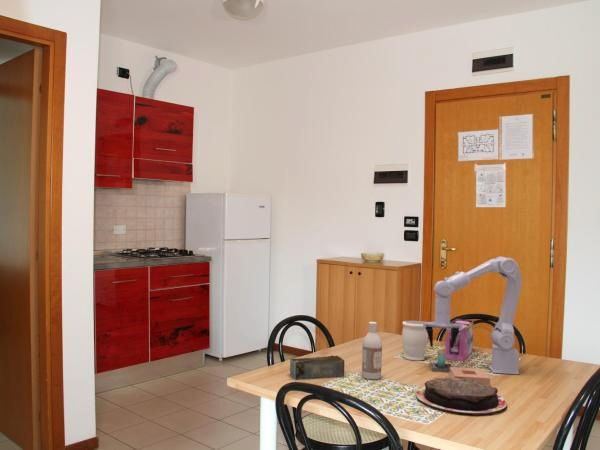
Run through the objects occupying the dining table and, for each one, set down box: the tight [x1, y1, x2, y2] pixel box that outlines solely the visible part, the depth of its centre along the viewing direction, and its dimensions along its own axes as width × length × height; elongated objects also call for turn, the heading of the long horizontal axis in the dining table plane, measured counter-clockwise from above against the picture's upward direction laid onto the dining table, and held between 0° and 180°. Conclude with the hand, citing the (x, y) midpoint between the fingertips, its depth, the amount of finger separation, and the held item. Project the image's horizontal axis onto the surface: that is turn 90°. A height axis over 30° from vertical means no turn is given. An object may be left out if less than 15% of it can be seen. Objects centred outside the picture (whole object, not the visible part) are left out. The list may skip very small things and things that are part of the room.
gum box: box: [444, 318, 474, 362], centre depth 225 cm, size 24×8×14 cm, turn 152°
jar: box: [401, 320, 429, 362], centre depth 217 cm, size 11×10×15 cm
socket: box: [448, 366, 491, 386], centre depth 188 cm, size 12×12×3 cm
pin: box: [436, 349, 446, 367], centre depth 202 cm, size 3×3×7 cm
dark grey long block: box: [289, 355, 345, 381], centre depth 190 cm, size 8×19×7 cm, turn 107°
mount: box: [429, 362, 453, 373], centre depth 202 cm, size 8×8×1 cm
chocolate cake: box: [415, 376, 508, 417], centre depth 167 cm, size 28×28×7 cm
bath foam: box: [361, 321, 383, 381], centre depth 189 cm, size 7×7×20 cm
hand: (441, 346), depth 202 cm, fingers open, 7 cm apart
